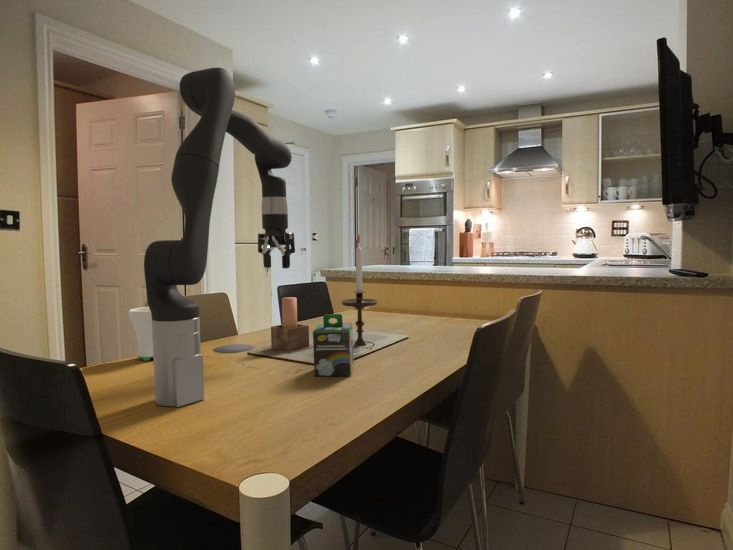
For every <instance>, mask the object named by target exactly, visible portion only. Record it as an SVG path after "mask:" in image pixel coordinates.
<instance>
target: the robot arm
mask: <svg viewBox="0 0 733 550" xmlns="http://www.w3.org/2000/svg"><path fill="white" fill-rule="evenodd" d="M179 93H180V97H181V99H182V101H183V102H184V104H185V105H186V106H187V108H189V110H190V111H192V112H193V113H195V114H196V115H198V116H200V118H199V120H198V122H197V123H196V124H195V126H194V127H193V129H192V130H191V131H190V132H189V134H187V136H186V137H185V139H183V141H182V142H181V144H180V146H179V147H178V148H177V151H176V152H175V153H176V154H175V157H174V162H173V168H172V172H171V177H170V178H171V180H170V181H171V186H172V189H173V191H174V193H175V194H174V195H175V196H176V198H177V201H178V203H179V204H180V206H181V209H182V212H183V214H184V232H183V236H182V239H169V240H167V239H166V240H156V241H153V242H151V243H150V244H149V245H148V246H147V248H146V249H145V253H144V258H143V272H144V274H143V275H144V282H145V290H146V301H147V305H148V306H147V307H149V309H150V311H151V317H152V340H153V357H152V358H153V379H154V380H153V381H154V382H153V383H154V398H155V399H154V400H155V404H156V405H158V406H161V407H163V406H164V407H175V408H179V407H183V406H187V405H190V404H192V403H196V402H199V401H204V400H205V380H204V379H205V377H204V374H205V373H204V359H203V358H204V356H203V354H202V350H201V347H202V345H201V326H200V325H201V322H200V321H201V320H200V306H199V304H198V303H197V302H196V301H194V300H191V299H189V298H187V297H185V296H184V295H183V294H181V293H180V291H179V289H178V286H193V285H197V284H198V283H200V282H201V280H202V279H203V278H204V275H205V272H206V268H207V263H208V254H209V252H208V251H209V241H210V240H209V239H210V227H211V226H210V224H211V215H212V210H213V209H212V208H213V202H214V197H215V192H216V188H217V183H218V177H219V171H220V164H221V156H222V152H223V146H224V142H225V137H226V133H228V134H229V135H230V136H232V138H233V139H235V140H237V141H238V142H239V143H240V144H241V145H242V146H243V147H244V148H245V149H247V150H248V151H249V152H250V153H251V154H253V155H254V163H255V166H256V168H257V172H258V175H259V179H260V182H261V197H262V198H261V227H262V229H263V230H264V231H265V232H262V233H261V232H259V233H258V234H257V252H258V254H261V255H262V258H263V267H264V269H265V268H266V269H267V268H271V267H272V256H271V254H272V252H273V250H274V249H275V248H277V250H279V252H280V253H281V267H282V269H289V268H290V267H291V255H292V254H295V253H296V247H295V244H296V243H295V234H294V232H287V230H288V228H289V212H288V210H289V208H288V201H287V181H286V179H285V178H284V177H280V176H275V175H274V174H273V172H272V170H276V169H277V170H278V169H286V168H287V167H288V166H290V164H291V163H292V159H293V158H292V152H291V149H290V148H289V146H288V145H287V144H286V143H285V142H283V140H280V139H279V138H277V137H275V136H273V135H271V134H269V133H268V132H267V131H266V130H265V129H264V128H263V127H262V126H261V125H260V124H259V123H258V122H257V121H255V119H253V118H251V117H249V116H248V115H245V114H243V113H241V112H238V111H236V110H234V109H233V108H234V106H235V105H234V104H235V98H236V88H235V82H234V79H233V77H232V75H231V73H230V72H229V71H228V70H226V69H225V68H222V67H210V68H209V67H207V68H205V69H199V70H196V71H191V72H187V73H185V74H184V75H183V76H182V77H181V78H180V82H179Z"/></svg>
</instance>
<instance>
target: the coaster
mask: <svg viewBox="0 0 733 550" xmlns="http://www.w3.org/2000/svg"><path fill="white" fill-rule="evenodd" d="M254 348H255V346H254V345H252V344H248V343H247V344H246V343H244V344H243V343H236V344H235V343H234V344H226V345H225V344H224V345H221V346H217V347H214V348H213V349H212V351H213V352H214V353H219V354H239V353H244V352H248V351H252V350H254Z"/></svg>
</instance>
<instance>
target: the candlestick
mask: <svg viewBox="0 0 733 550" xmlns="http://www.w3.org/2000/svg"><path fill="white" fill-rule="evenodd" d="M360 238H361V235H360V233H358V236H357V239H356V241H357V247H356V248H355V286H356V287H355V289H356V290H355V291H353V292H352V293H353V294H355V298H349V299H347V298H346V299H343V300H341V306H344V307H353V308H354V309H355V310H356V311H357V313H356V314H357V320H356V321H355V323H354V324H355V327H357V329H356V330H355V333H357V339H356V340H355V341H353V349H355V347H363V349H368V348H371V347H374V346H375V343H374V342H371V341H365V340H364V339H363V333H364V332H365V330H363V326H364V325H365V322H364V321H363V317H362V316H363V310H364V309H365V308H366V307H372V306H374V307H375V306H376V305H378V300H377V299H374V298H364V294H366V293H367V292H365V291H363V249H362V248H361V245H360V242H361V239H360ZM367 344H372V345H371V346H367ZM354 346H355V347H354ZM365 346H366V347H365Z"/></svg>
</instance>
